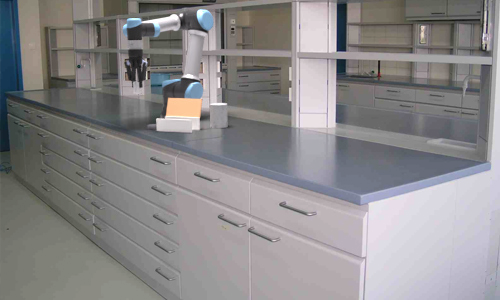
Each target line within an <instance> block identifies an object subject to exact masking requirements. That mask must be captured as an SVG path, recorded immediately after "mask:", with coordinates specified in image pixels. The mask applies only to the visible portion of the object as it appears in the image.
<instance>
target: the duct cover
mask: <svg viewBox="0 0 500 300" xmlns="http://www.w3.org/2000/svg"><path fill="white" fill-rule="evenodd" d="M202 106H203V98H201V99H190V98H168V104H167V111H166V116H175V117H198V118H201V116H202Z"/></svg>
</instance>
